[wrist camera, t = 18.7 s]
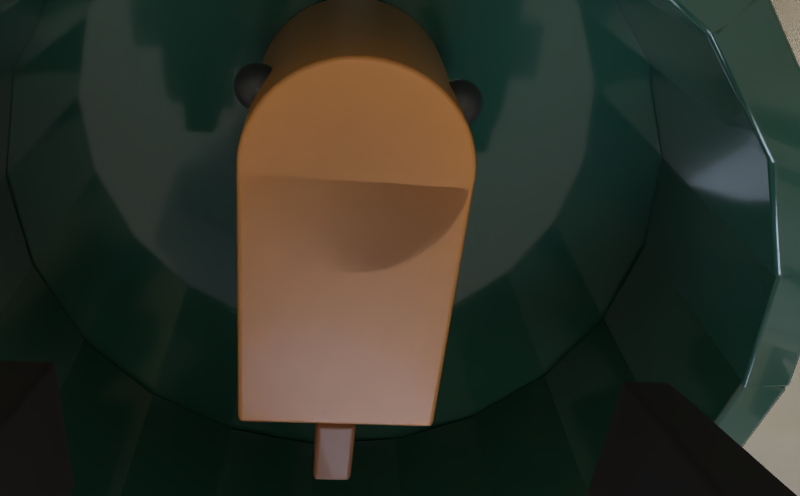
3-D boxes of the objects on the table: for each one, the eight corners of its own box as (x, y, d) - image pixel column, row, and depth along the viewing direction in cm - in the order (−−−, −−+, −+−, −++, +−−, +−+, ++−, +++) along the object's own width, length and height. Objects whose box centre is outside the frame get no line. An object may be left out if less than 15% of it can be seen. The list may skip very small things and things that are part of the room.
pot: (830, 114, 15) (1027, 236, 11) (414, 518, 20) (434, 707, 16) (201, -451, 10) (99, -647, 6) (-130, 281, 15) (-312, 463, 11)
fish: (413, 363, 17) (430, 487, 14) (249, 357, 16) (229, 483, 13) (466, 6, 13) (506, 67, 10) (251, -14, 12) (222, 43, 9)
